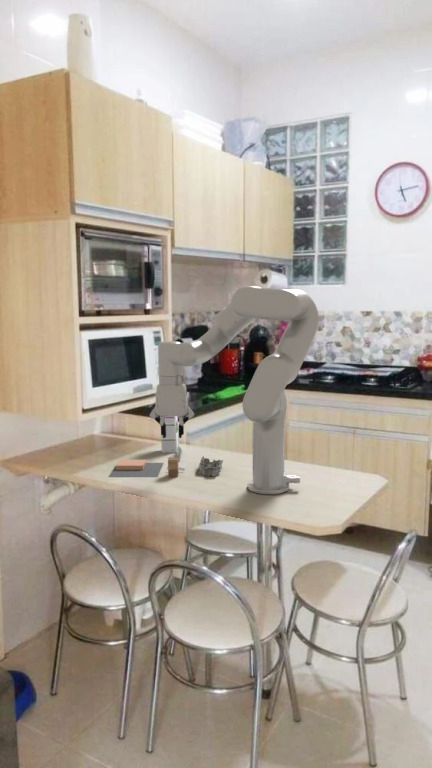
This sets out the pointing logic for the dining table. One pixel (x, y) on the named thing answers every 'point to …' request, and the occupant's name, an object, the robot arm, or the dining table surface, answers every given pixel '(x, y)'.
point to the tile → (131, 465)
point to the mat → (139, 471)
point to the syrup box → (170, 435)
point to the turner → (174, 467)
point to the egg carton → (210, 467)
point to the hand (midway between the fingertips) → (172, 436)
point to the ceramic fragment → (177, 454)
